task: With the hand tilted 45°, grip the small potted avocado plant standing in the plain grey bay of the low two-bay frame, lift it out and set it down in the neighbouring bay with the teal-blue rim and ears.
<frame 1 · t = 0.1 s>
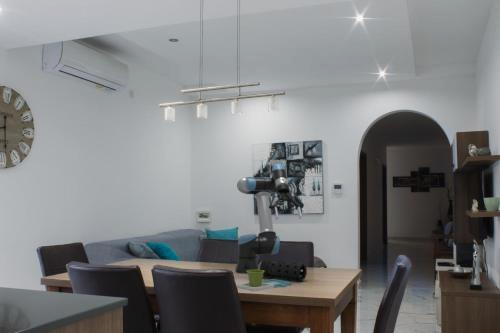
hand: (289, 217, 279), 36 cm above the table, tool tilted 35°, fingers open, 13 cm apart
plant pot: (255, 288, 265), resting in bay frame
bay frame: (264, 286, 269), on the table
muzzle brake: (281, 280, 291), on the table
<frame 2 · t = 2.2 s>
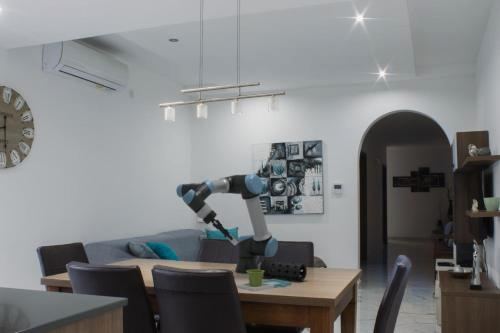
hand: (235, 242, 265), 24 cm above the table, tool tilted 45°, fingers open, 13 cm apart
nothing on the table moved.
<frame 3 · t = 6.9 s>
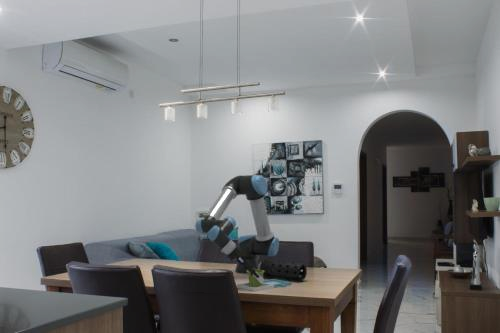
hand: (261, 279, 266), 4 cm above the table, tool tilted 45°, fingers closed on plant pot, 9 cm apart
plant pot: (255, 287, 265), resting in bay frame, touching gripper
everything else where it was.
when the fingers open (5 cm above the table, at t = 12.9 s): plant pot drops 1 cm, resting on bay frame.
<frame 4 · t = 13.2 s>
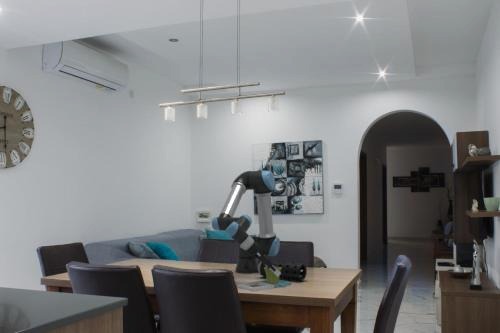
hand: (277, 273, 274), 6 cm above the table, tool tilted 45°, fingers open, 13 cm apart
plant pot: (272, 284, 274), resting on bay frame
everything else where it was.
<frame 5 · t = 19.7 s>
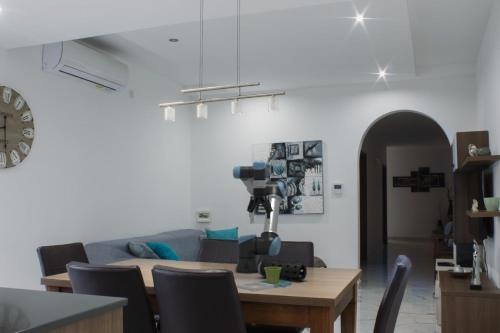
hand: (259, 223, 296), 32 cm above the table, tool pointing down, fingers open, 13 cm apart
nothing on the table moved.
at the end: plant pot 0.1 cm from the target spot on the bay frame, point 0.1 cm above the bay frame's base; plant pot tilted 0°; the gripper is holding nothing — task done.
